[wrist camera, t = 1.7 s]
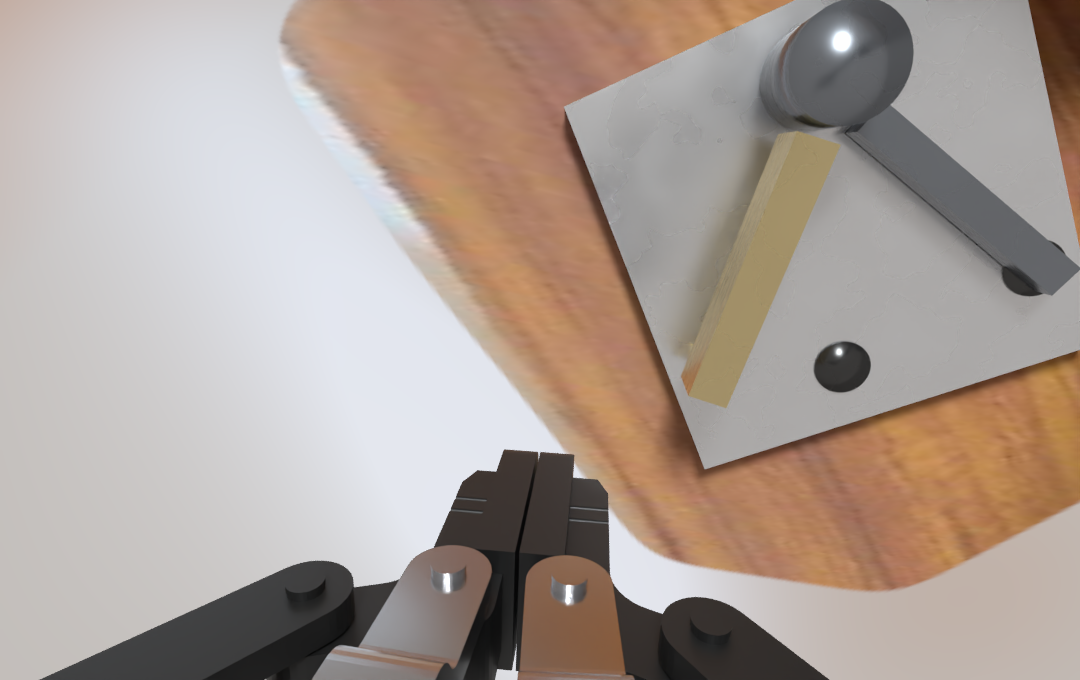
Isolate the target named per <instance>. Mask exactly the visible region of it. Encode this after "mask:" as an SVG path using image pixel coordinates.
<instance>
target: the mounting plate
mask: <svg viewBox="0 0 1080 680" xmlns="http://www.w3.org/2000/svg"><path fill="white" fill-rule="evenodd" d="M564 109H565V111H566V114H567V116H568V119H569V121H570V124H571V127H572V129H573V132H574V134H575V137H576V139H577V142H578V145H579V147H580V150H581V152H582V155H583V157H584V160H585V163H586V165H587V168H588V170H589V173H590V175H591V178H592V181H593V183H594V186H595V188H596V191H597V194H598V196H599V199H600V201H601V204H602V206H603V209H604V212H605V214H606V217H607V219H608V222H609V224H610V227H611V230H612V232H613V235H614V237H615V240H616V242H617V245H618V248H619V250H620V253H621V255H622V258H623V260H624V263H625V266H626V268H627V271H628V273H629V276H630V278H631V281H632V284H633V286H634V289H635V291H636V294H637V296H638V299H639V302H640V304H641V307H642V309H643V312H644V314H645V317H646V320H647V322H648V325H649V327H650V330H651V332H652V335H653V338H654V340H655V343H656V345H657V348H658V350H659V353H660V356H661V358H662V361H663V363H664V366H665V368H666V371H667V374H668V376H669V379H670V381H671V384H672V386H673V389H674V392H675V394H676V397H677V399H678V402H679V404H680V407H681V410H682V412H683V415H684V417H685V420H686V422H687V425H688V428H689V430H690V433H691V435H692V438H693V440H694V443H695V446H696V448H697V451H698V453H699V456H700V458H701V461H702V464H703V466H704V469H708V468H711V467H714V466H717V465H720V464H723V463H727V462H730V461H733V460H736V459H739V458H742V457H745V456H749V455H752V454H755V453H758V452H761V451H764V450H767V449H770V448H774V447H777V446H780V445H783V444H786V443H789V442H792V441H796V440H799V439H802V438H805V437H808V436H811V435H814V434H818V433H821V432H824V431H827V430H830V429H833V428H836V427H839V426H843V425H846V424H849V423H852V422H855V421H858V420H861V419H865V418H868V417H871V416H874V415H877V414H880V413H883V412H887V411H890V410H893V409H896V408H899V407H902V406H905V405H908V404H912V403H915V402H918V401H921V400H924V399H927V398H930V397H934V396H937V395H940V394H943V393H946V392H949V391H952V390H955V389H959V388H962V387H965V386H968V385H971V384H974V383H977V382H981V381H984V380H987V379H990V378H993V377H996V376H999V375H1003V374H1006V373H1009V372H1012V371H1015V370H1018V369H1021V368H1024V367H1028V366H1031V365H1034V364H1037V363H1040V362H1043V361H1046V360H1050V359H1053V358H1056V357H1059V356H1062V355H1065V354H1068V353H1071V352H1075V351H1078V350H1080V248H1079V243H1078V238H1077V233H1076V229H1075V224H1074V219H1073V214H1072V209H1071V205H1070V200H1069V195H1068V190H1067V185H1066V181H1065V176H1064V171H1063V166H1062V161H1061V157H1060V152H1059V147H1058V142H1057V137H1056V133H1055V128H1054V123H1053V118H1052V113H1051V109H1050V104H1049V99H1048V94H1047V89H1046V85H1045V80H1044V75H1043V70H1042V65H1041V60H1040V56H1039V51H1038V46H1037V41H1036V36H1035V32H1034V27H1033V22H1032V17H1031V12H1030V8H1029V3H1028V0H795V1H792V2H790V3H788V4H786V5H784V6H782V7H779V8H777V9H775V10H773V11H771V12H769V13H766V14H764V15H762V16H760V17H758V18H756V19H753V20H751V21H749V22H747V23H745V24H743V25H740V26H738V27H736V28H734V29H732V30H730V31H727V32H725V33H723V34H721V35H719V36H716V37H714V38H712V39H710V40H708V41H706V42H703V43H701V44H699V45H697V46H695V47H693V48H690V49H688V50H686V51H684V52H682V53H680V54H677V55H675V56H673V57H671V58H669V59H667V60H664V61H662V62H660V63H658V64H656V65H654V66H651V67H649V68H647V69H645V70H643V71H641V72H638V73H636V74H634V75H632V76H630V77H628V78H625V79H623V80H621V81H619V82H617V83H615V84H612V85H610V86H608V87H606V88H604V89H602V90H599V91H597V92H595V93H593V94H591V95H589V96H586V97H584V98H582V99H580V100H578V101H576V102H573V103H571V104H569V105H567V106H565V107H564ZM794 131H799V132H802V133H805V134H808V135H812V136H815V137H818V138H821V139H824V140H827V141H830V142H834V143H837V144H840V148H839V150H838V152H837V155H836V157H835V159H834V162H833V164H832V166H831V168H830V171H829V173H828V175H827V178H826V180H825V182H824V185H823V187H822V189H821V192H820V194H819V196H818V198H817V201H816V203H815V205H814V208H813V210H812V212H811V215H810V217H809V219H808V221H807V224H806V226H805V228H804V231H803V233H802V235H801V238H800V240H799V242H798V244H797V247H796V249H795V251H794V254H793V256H792V258H791V261H790V263H789V265H788V268H787V270H786V272H785V274H784V277H783V279H782V281H781V284H780V286H779V288H778V291H777V293H776V295H775V297H774V300H773V302H772V304H771V307H770V309H769V311H768V314H767V316H766V318H765V320H764V323H763V325H762V327H761V330H760V332H759V334H758V337H757V339H756V341H755V344H754V346H753V348H752V350H751V353H750V355H749V357H748V360H747V362H746V364H745V367H744V369H743V371H742V373H741V376H740V378H739V380H738V383H737V385H736V387H735V390H734V392H733V394H732V396H731V399H730V401H729V403H728V406H727V408H724V407H721V406H718V405H715V404H712V403H708V402H705V401H702V400H699V399H696V398H693V397H690V396H688V394H687V391H686V389H685V386H684V383H683V381H682V378H681V374H682V372H683V369H684V367H685V364H686V362H687V359H688V357H689V354H690V352H691V349H692V347H693V344H694V342H695V339H696V337H697V334H698V332H699V329H700V327H701V324H702V322H703V319H704V317H705V314H706V312H707V310H708V307H709V305H710V302H711V300H712V297H713V295H714V292H715V290H716V287H717V285H718V282H719V280H720V277H721V275H722V272H723V270H724V267H725V265H726V262H727V260H728V257H729V255H730V252H731V250H732V247H733V245H734V242H735V240H736V237H737V235H738V232H739V230H740V227H741V225H742V222H743V220H744V217H745V215H746V212H747V210H748V207H749V205H750V202H751V200H752V198H753V195H754V193H755V190H756V188H757V185H758V183H759V180H760V178H761V175H762V173H763V170H764V168H765V165H766V163H767V160H768V158H769V155H770V153H771V150H772V148H773V145H774V143H775V140H776V138H777V135H778V134H782V133H788V132H794Z"/></svg>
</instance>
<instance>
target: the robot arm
mask: <svg viewBox="0 0 1080 680" xmlns="http://www.w3.org/2000/svg"><path fill="white" fill-rule="evenodd" d="M573 469H574V455H572V454H558V453H545V452H541V453H540V458H539V461H538V452H531V451H517V450H516V451H515V450H504V451H503V454H502V457H501V460H500V463H499V466H498V469H497V471H496V472H491V471H479V470H477V471H476V472H475V473H474V474H472V475H471V476H470V477H469V478H467V479H466V480H464V481H463V482H462V484H461V486H460V489H459V491H458V493H457V496H456V499H455V500H454V503H453V505H452V507H451V511H450V512H449V514H448V516H447V518H446V521H445V523H444V525H443V528H442V530H441V532H440V535H439V537H438V539H437V542H436V544H435V546H434V548H432V549H429V550H427V551H425V552H423V553H421V554H419V555H418V556H416V557H415V558H414V559H413V560H412V561H411V562H410V564H409V565H408V566H407V568H406V569H405V571H404V573H403V574H402V576H401V578H400V579H399V580H397V581H393V582H389V583H383V584H377V585H369V586H362V587H354V584H353V577H352V575H351V573H350V572H349V571H348V569H346V568H345V567H344V566H342V565H340V564H337V563H334V562H329V561H309V562H304V563H300V564H296V565H293V566H291V567H288V568H285V569H283V570H281V571H279V572H277V573H274V574H272V575H270V576H268V577H265V578H263V579H261V580H259V581H257V582H254V583H252V584H250V585H248V586H246V587H243V588H241V589H239V590H237V591H235V592H232V593H230V594H228V595H226V596H224V597H221V598H219V599H217V600H215V601H213V602H210V603H208V604H206V605H204V606H201V607H199V608H197V609H195V610H193V611H190V612H188V613H186V614H184V615H182V616H179V617H177V618H175V619H173V620H171V621H168V622H166V623H164V624H162V625H160V626H157V627H155V628H153V629H151V630H149V631H146V632H144V633H142V634H140V635H137V636H135V637H133V638H131V639H129V640H126V641H124V642H122V643H120V644H118V645H116V646H113V647H111V648H109V649H107V650H105V651H102V652H100V653H98V654H96V655H93V656H91V657H89V658H87V659H85V660H82V661H80V662H78V663H76V664H74V665H72V666H69V667H67V668H65V669H62V670H60V671H58V672H56V673H54V674H51V675H49V676H47V677H45V678H43V679H40V680H265V679H266V680H495V676H496V671H497V669H503V670H512V667H513V661H514V655H515V650H516V644H517V652H516V655H517V656H516V671H518V680H829V679H828V678H826V677H825V676H824V675H822V674H821V673H820V672H818V671H817V670H816V669H815V668H813V667H812V666H810V665H809V664H808V663H807V662H805V661H804V660H803V659H801V658H800V657H799V656H797V655H796V654H795V653H794V652H792V651H791V650H790V649H788V648H787V647H786V646H785V645H783V644H782V643H781V642H779V641H778V640H777V639H775V638H774V637H773V636H771V635H770V634H769V633H767V632H766V631H765V630H764V629H762V628H761V627H760V626H758V625H757V624H756V623H754V622H753V621H752V620H750V619H749V618H748V617H747V616H745V615H744V614H743V613H741V612H740V611H738V610H737V609H735V608H733V607H732V606H730V605H728V604H725V603H723V602H720V601H717V600H713V599H709V598H701V597H691V598H685V599H681V600H678V601H675V602H674V603H672V604H670V605H669V606H668V607H667V608H666V610H665V611H664V613H663V614H661V613H658V612H655V611H652V610H649V609H646V608H644V607H641V606H639V605H637V604H635V603H633V602H631V601H630V600H629V599H627V598H625V597H624V596H623V595H622V594H621V593H620V592H619V591H618V590H617V588H616V587H615V586H614V584H613V582H612V579H611V577H610V567H609V566H610V564H609V525H608V522H609V520H608V519H609V518H608V493H607V492H606V490H605V489H604V488H603V486H602V485H601V484H600V482H599V481H598V480H594V479H582V478H573Z"/></svg>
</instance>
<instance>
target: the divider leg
mask: <svg viewBox="0 0 1080 680" xmlns="http://www.w3.org/2000/svg"><path fill="white" fill-rule="evenodd" d="M839 148H840V144H837V143H834V142H830V141H827V140H824V139H821V138H818V137H815V136H812V135H808V134H805V133H802V132H799V131H794V132H788V133H782V134H778V135H777V138H776V140H775V143H774V145H773V148H772V150H771V153H770V155H769V158H768V160H767V163H766V165H765V168H764V170H763V173H762V175H761V178H760V180H759V183H758V185H757V188H756V190H755V193H754V195H753V198H752V200H751V202H750V205H749V207H748V210H747V212H746V215H745V217H744V220H743V222H742V225H741V227H740V230H739V232H738V235H737V237H736V240H735V242H734V245H733V247H732V250H731V252H730V255H729V257H728V260H727V262H726V265H725V267H724V270H723V272H722V275H721V277H720V280H719V282H718V285H717V287H716V290H715V292H714V295H713V297H712V300H711V302H710V305H709V307H708V310H707V312H706V314H705V317H704V319H703V322H702V324H701V327H700V329H699V332H698V334H697V337H696V339H695V342H694V344H693V347H692V349H691V352H690V354H689V357H688V359H687V362H686V364H685V367H684V369H683V372H682V374H681V378H682V381H683V383H684V386H685V389H686V391H687V394H688V396H690V397H693V398H696V399H699V400H702V401H705V402H708V403H712V404H715V405H718V406H721V407H724V408H727V406H728V403H729V401H730V399H731V396H732V394H733V392H734V390H735V387H736V385H737V383H738V380H739V378H740V376H741V373H742V371H743V369H744V367H745V364H746V362H747V360H748V357H749V355H750V353H751V350H752V348H753V346H754V344H755V341H756V339H757V337H758V334H759V332H760V330H761V327H762V325H763V323H764V320H765V318H766V316H767V314H768V311H769V309H770V307H771V304H772V302H773V300H774V297H775V295H776V293H777V291H778V288H779V286H780V284H781V281H782V279H783V277H784V274H785V272H786V270H787V268H788V265H789V263H790V261H791V258H792V256H793V254H794V251H795V249H796V247H797V244H798V242H799V240H800V238H801V235H802V233H803V231H804V228H805V226H806V224H807V221H808V219H809V217H810V215H811V212H812V210H813V208H814V205H815V203H816V201H817V198H818V196H819V194H820V192H821V189H822V187H823V185H824V182H825V180H826V178H827V175H828V173H829V171H830V168H831V166H832V164H833V162H834V159H835V157H836V155H837V152H838V150H839Z"/></svg>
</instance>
